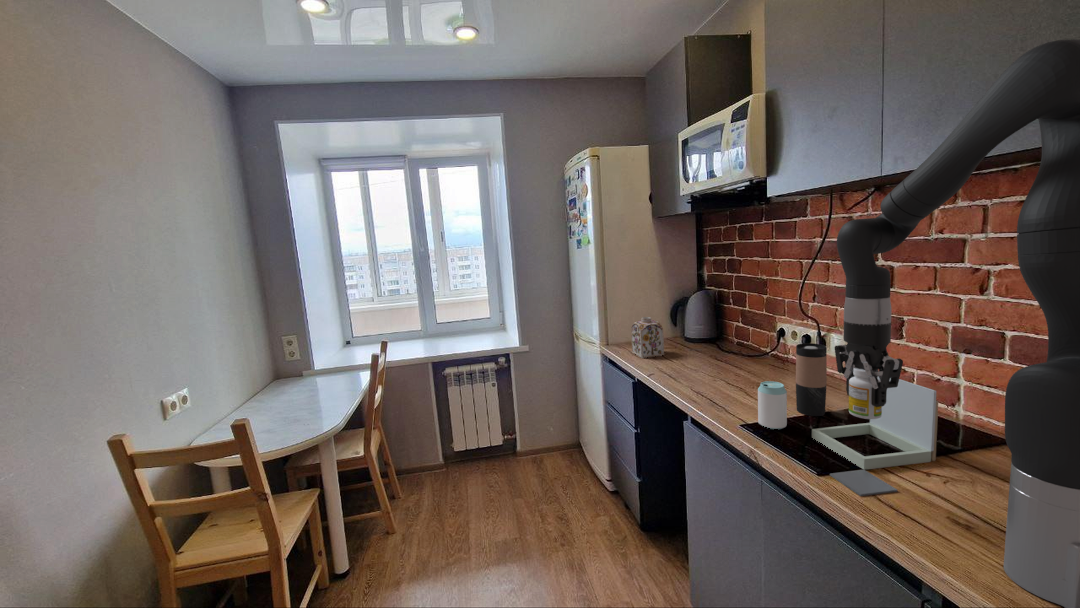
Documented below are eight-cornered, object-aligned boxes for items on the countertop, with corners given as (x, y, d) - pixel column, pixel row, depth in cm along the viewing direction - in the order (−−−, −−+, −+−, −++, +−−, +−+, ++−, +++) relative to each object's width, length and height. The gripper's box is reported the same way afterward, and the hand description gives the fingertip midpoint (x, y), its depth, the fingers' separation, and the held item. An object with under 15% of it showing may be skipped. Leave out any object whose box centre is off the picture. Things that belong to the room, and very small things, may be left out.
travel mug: (828, 409, 125) (828, 344, 123) (823, 418, 120) (824, 350, 117) (798, 405, 131) (798, 342, 128) (793, 413, 125) (793, 347, 122)
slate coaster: (897, 491, 85) (897, 489, 85) (860, 496, 84) (860, 494, 84) (863, 471, 93) (863, 469, 93) (829, 475, 92) (829, 473, 92)
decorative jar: (631, 353, 208) (630, 317, 205) (653, 350, 210) (652, 314, 207) (641, 358, 196) (640, 320, 194) (665, 355, 198) (663, 318, 196)
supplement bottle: (873, 410, 88) (874, 365, 87) (887, 420, 83) (888, 372, 82) (844, 409, 90) (844, 365, 88) (855, 419, 85) (856, 372, 83)
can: (775, 432, 113) (775, 390, 112) (752, 424, 120) (752, 383, 118) (792, 426, 116) (792, 384, 115) (769, 418, 123) (768, 378, 121)
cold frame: (936, 461, 94) (939, 390, 92) (864, 469, 93) (865, 398, 91) (874, 431, 110) (876, 370, 108) (811, 438, 109) (812, 376, 107)
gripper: (919, 323, 77) (916, 411, 79) (854, 312, 91) (853, 388, 93) (881, 327, 77) (878, 416, 79) (822, 315, 91) (821, 391, 93)
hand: (865, 400), depth 86 cm, fingers closed on supplement bottle, 5 cm apart
